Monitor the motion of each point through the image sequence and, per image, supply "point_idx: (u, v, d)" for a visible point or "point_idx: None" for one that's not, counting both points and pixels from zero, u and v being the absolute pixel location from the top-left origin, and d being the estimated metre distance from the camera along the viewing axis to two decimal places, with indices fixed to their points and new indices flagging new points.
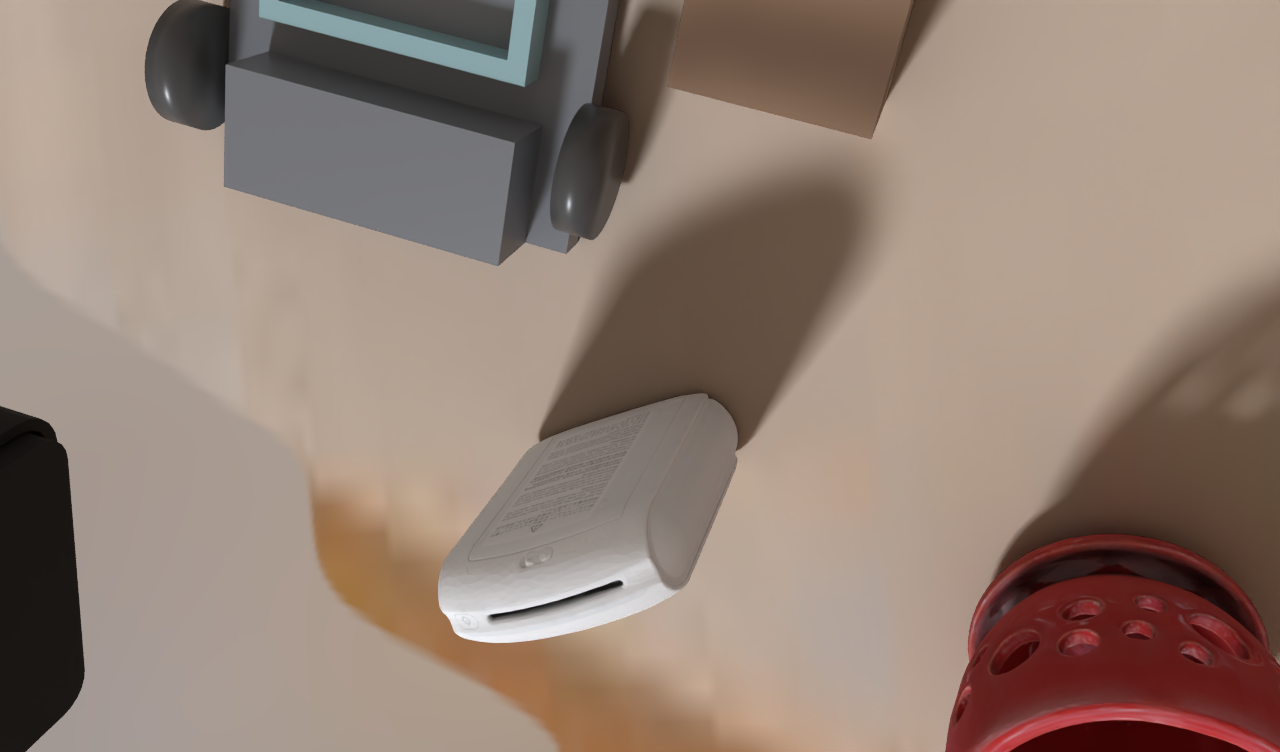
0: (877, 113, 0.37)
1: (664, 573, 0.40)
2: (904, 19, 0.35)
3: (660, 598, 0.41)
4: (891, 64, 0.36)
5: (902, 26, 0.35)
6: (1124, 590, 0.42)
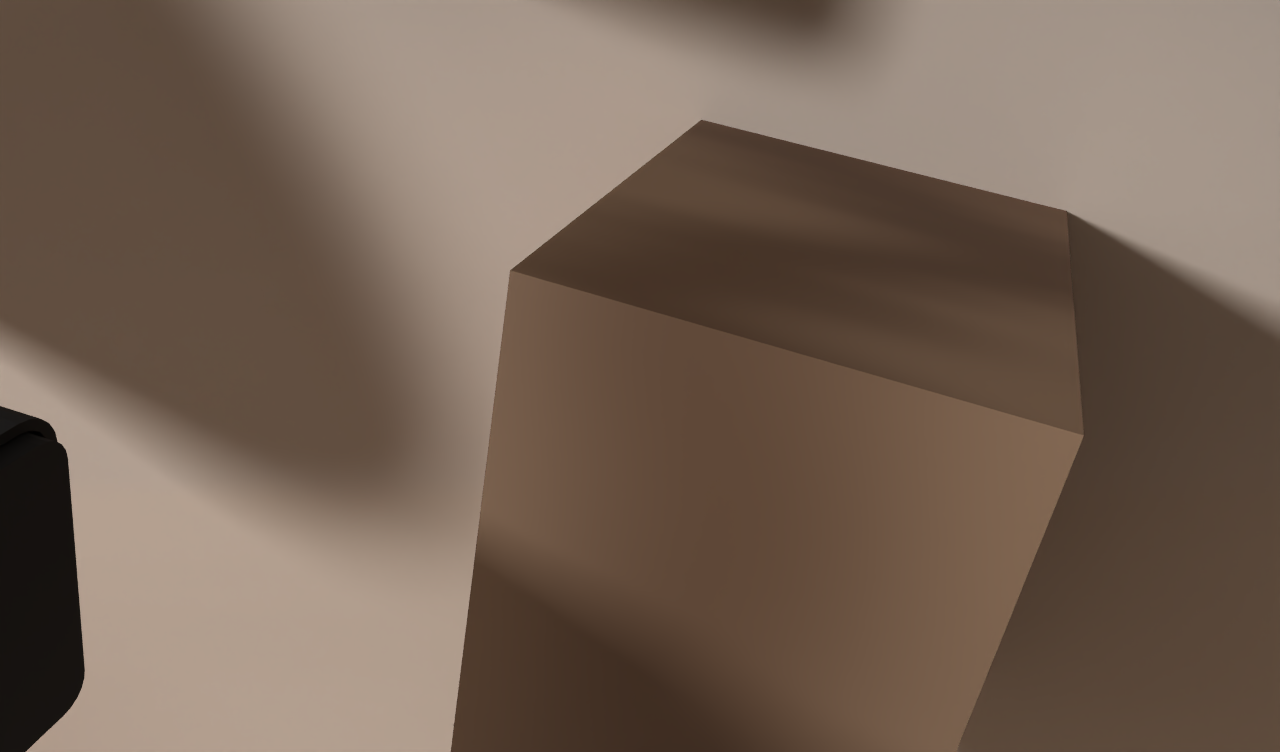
0: None
1: None
2: None
3: None
4: None
5: None
6: None
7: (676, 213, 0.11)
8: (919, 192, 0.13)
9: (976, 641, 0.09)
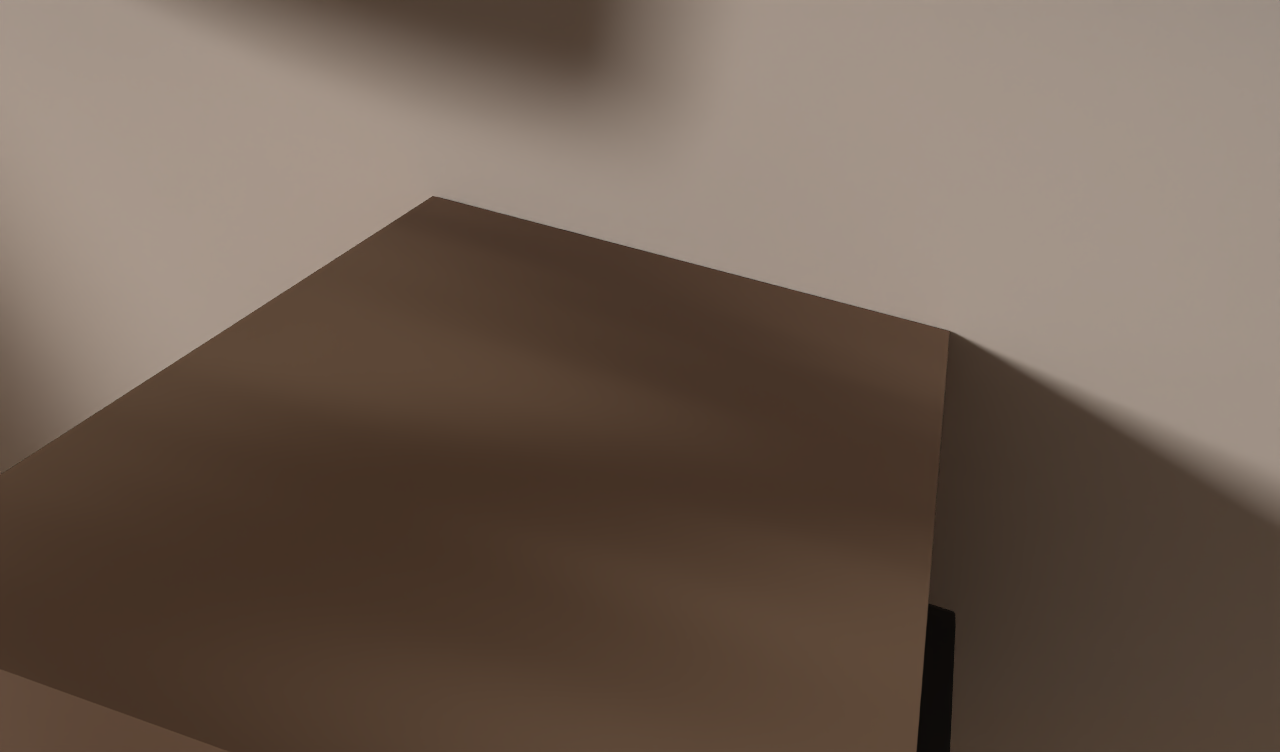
0: None
1: None
2: None
3: None
4: None
5: None
6: None
7: (277, 402, 0.07)
8: (727, 315, 0.09)
9: None
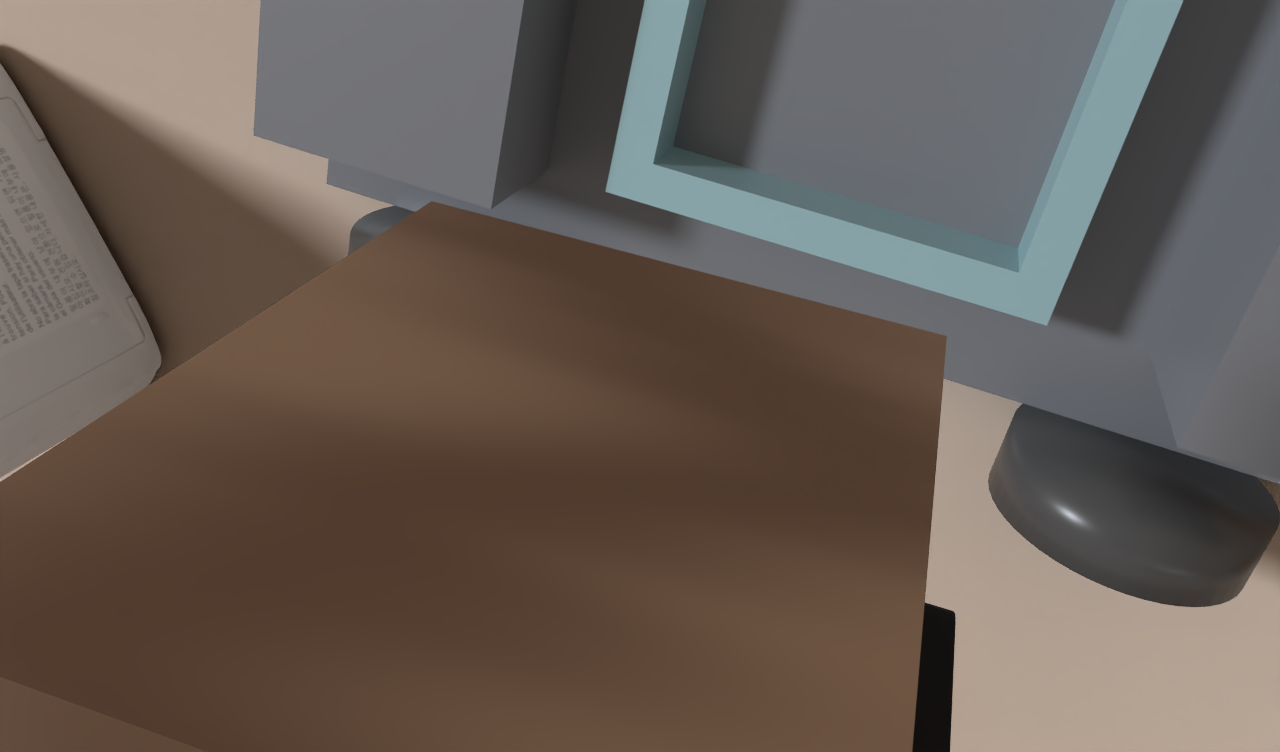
0: None
1: None
2: None
3: None
4: None
5: None
6: None
7: (276, 407, 0.07)
8: (725, 320, 0.09)
9: None
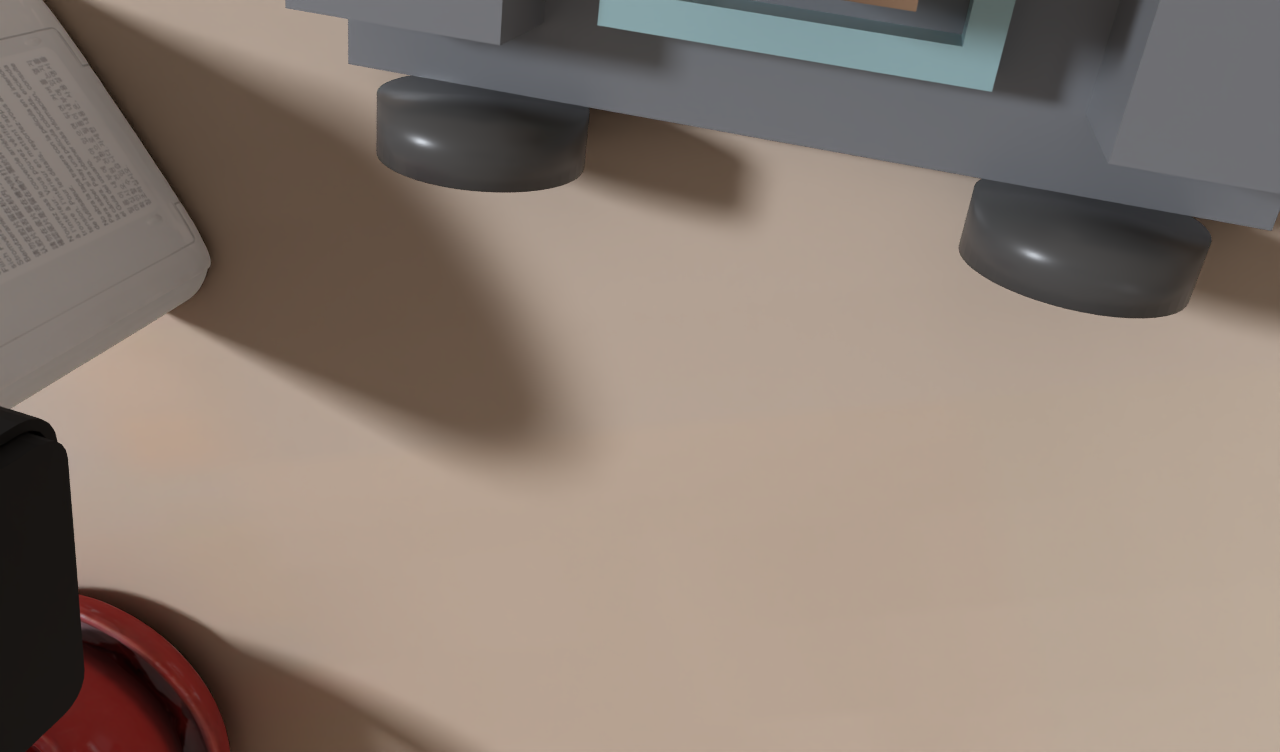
0: None
1: None
2: (878, 3, 0.19)
3: None
4: None
5: (865, 1, 0.19)
6: None
7: None
8: None
9: None
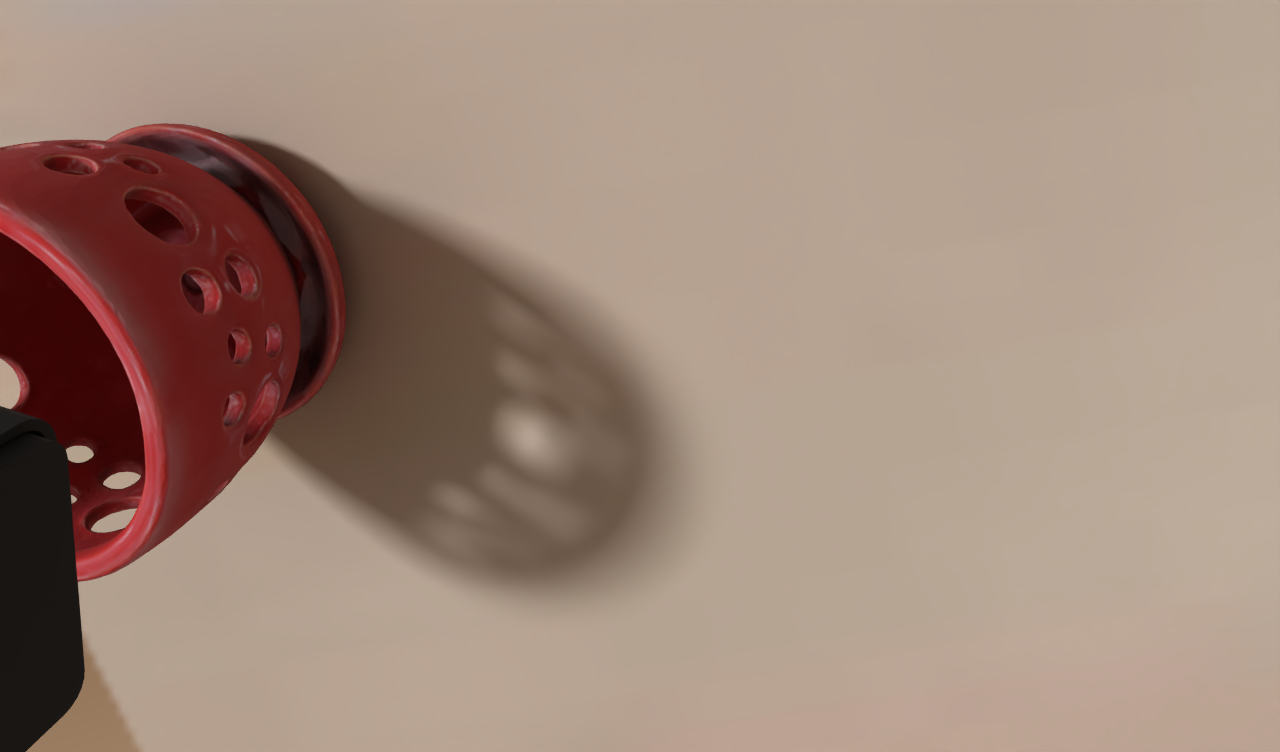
0: None
1: None
2: None
3: None
4: None
5: None
6: (279, 308, 0.37)
7: None
8: None
9: None
